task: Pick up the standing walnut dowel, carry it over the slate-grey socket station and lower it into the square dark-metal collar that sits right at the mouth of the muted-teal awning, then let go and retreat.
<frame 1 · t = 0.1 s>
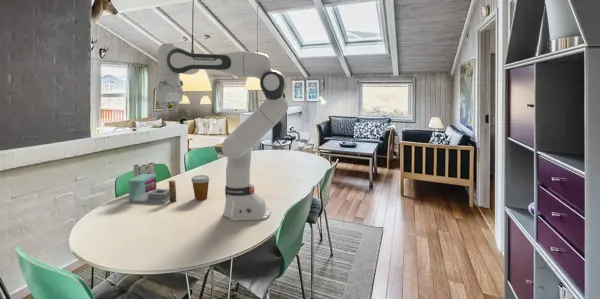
hand: (170, 112, 147), 48 cm above the table, fingers open, 8 cm apart
socket station: (153, 198, 172), on the table
candy bar box: (146, 191, 187), on the table
walnut dowel: (173, 201, 169), on the table
disposable coffee cup: (201, 198, 175), on the table
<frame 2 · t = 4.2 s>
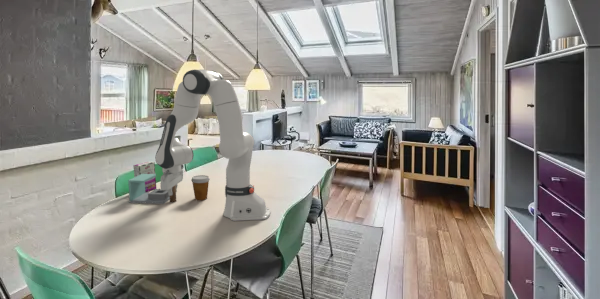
hand: (172, 193, 169), 4 cm above the table, fingers closed on walnut dowel, 3 cm apart
walnut dowel: (173, 201, 169), on the table, touching gripper
everything else where it was.
when the fingers open (6 cm above the table, at t = 9.2 s): walnut dowel stays where it is, resting on socket station.
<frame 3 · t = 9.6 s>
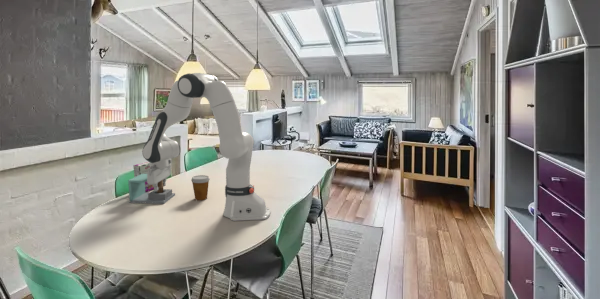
hand: (160, 188, 171), 6 cm above the table, fingers open, 7 cm apart
walnut dowel: (160, 197, 172), point 1 cm above the table, touching socket station
everything else where it was.
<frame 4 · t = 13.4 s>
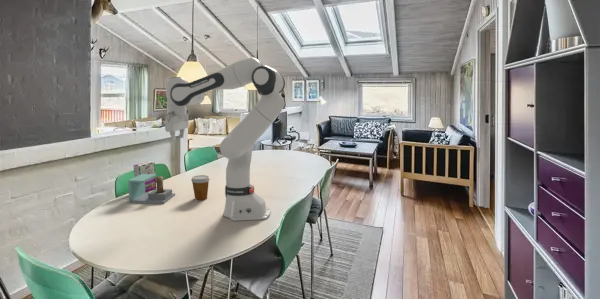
hand: (177, 139, 159), 34 cm above the table, fingers open, 8 cm apart
nothing on the table moved.
at the end: walnut dowel 0.0 cm from the target spot on the socket station, point 1.2 cm above the socket station's base; walnut dowel tilted 0°; the gripper is holding nothing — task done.
